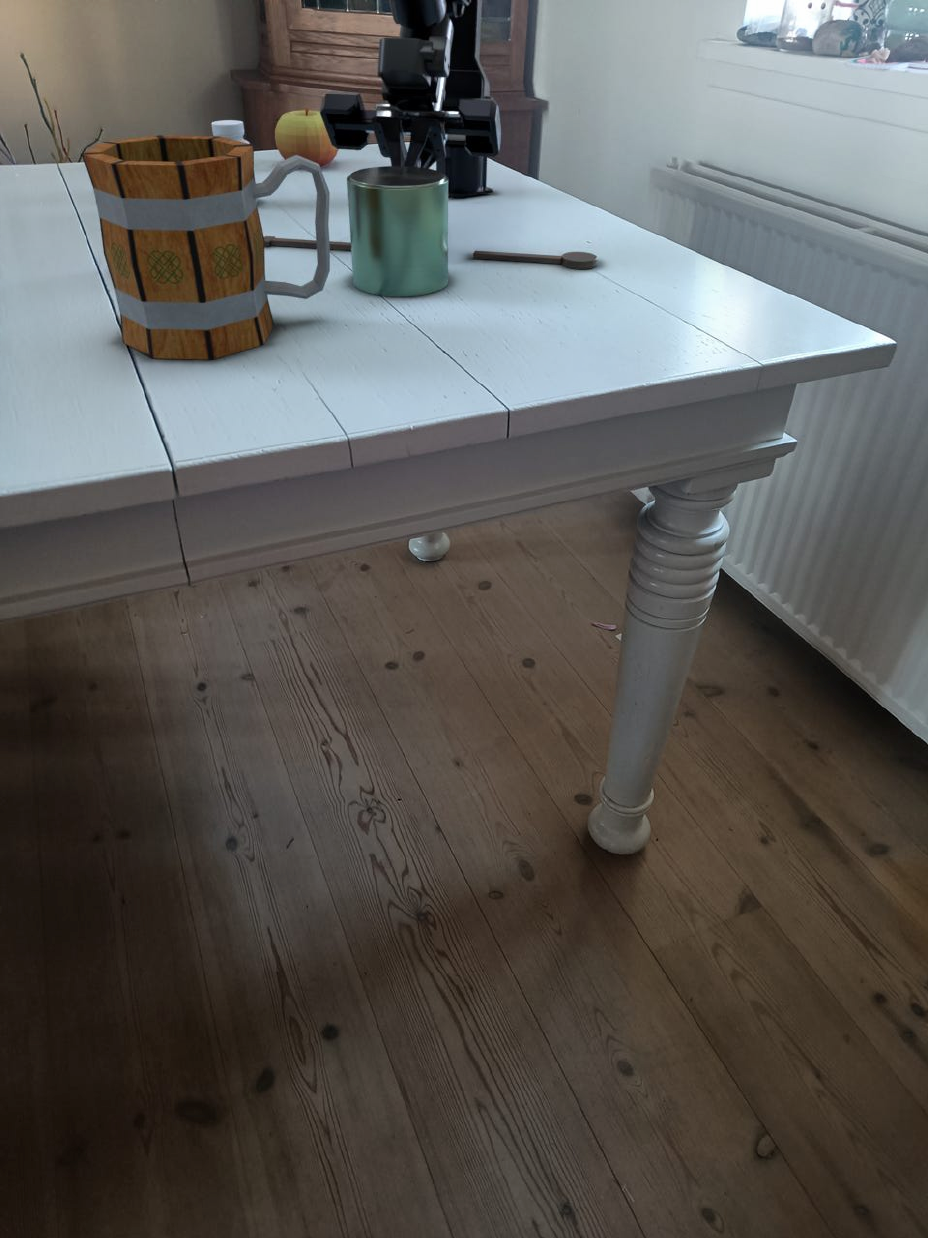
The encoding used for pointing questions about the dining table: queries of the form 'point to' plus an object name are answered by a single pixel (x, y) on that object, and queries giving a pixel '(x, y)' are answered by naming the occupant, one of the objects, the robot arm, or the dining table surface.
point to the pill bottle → (230, 131)
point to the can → (398, 230)
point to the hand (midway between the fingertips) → (400, 196)
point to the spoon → (543, 258)
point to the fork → (303, 243)
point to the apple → (304, 137)
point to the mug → (193, 242)
